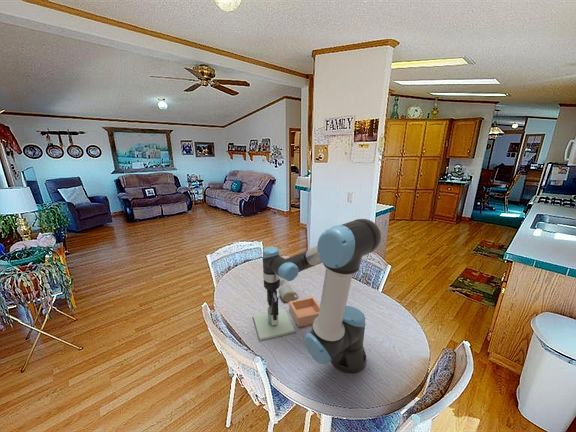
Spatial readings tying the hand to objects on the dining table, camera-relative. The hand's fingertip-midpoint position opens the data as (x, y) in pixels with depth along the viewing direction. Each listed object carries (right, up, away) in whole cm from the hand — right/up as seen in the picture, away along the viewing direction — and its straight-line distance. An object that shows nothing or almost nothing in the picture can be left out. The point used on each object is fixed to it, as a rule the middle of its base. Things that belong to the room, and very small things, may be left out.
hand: (273, 320), depth 128 cm
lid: (0, -2, +1) cm, 2 cm away
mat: (0, -3, +1) cm, 3 cm away
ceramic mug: (+8, +4, +22) cm, 24 cm away
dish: (+17, -1, +7) cm, 18 cm away
